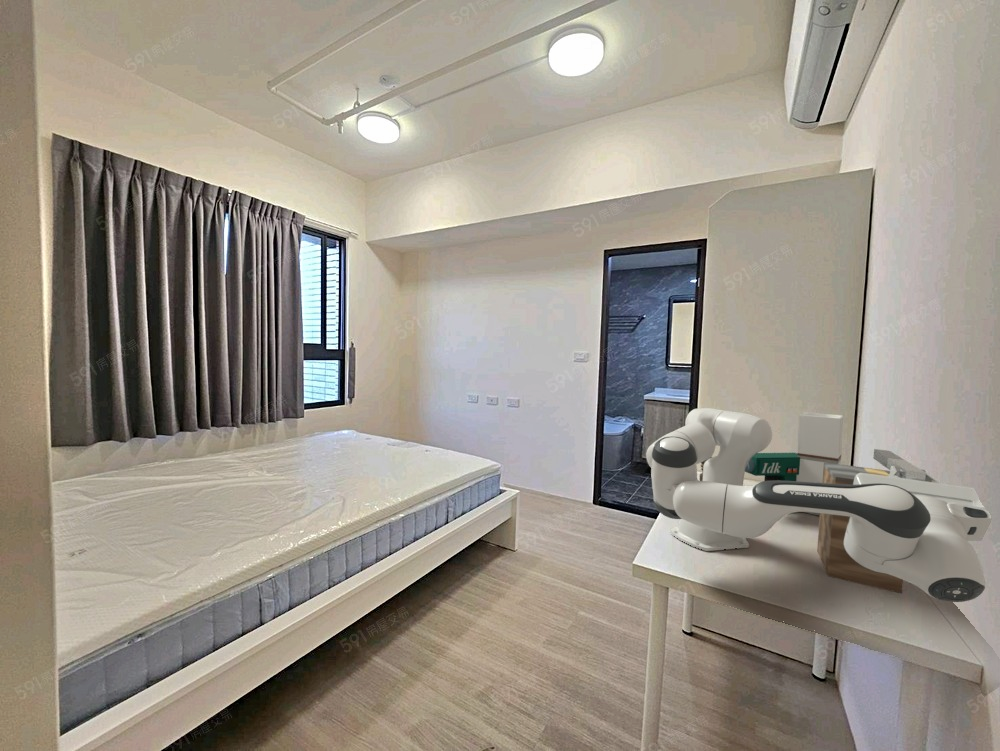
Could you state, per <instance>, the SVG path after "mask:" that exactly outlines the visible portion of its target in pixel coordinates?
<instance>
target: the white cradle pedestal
mask: <svg viewBox="0 0 1000 751" xmlns="http://www.w3.org/2000/svg"><path fill="white" fill-rule="evenodd" d="M843 425H844V415H842V414H828V413H816V412H803V414H799V415H798V432H797V453H798V454H797V457H800V468H799V475H797V478H796V481H799V482H814V483H822V481H823V468H824V463H832V464H840V465H842V450H843V449H842V448H843V447H842V446H843V445H842V444H843V427H844V426H843ZM804 513H806V514H811V515H815V516H819V517H820V513H812V512H804Z"/></svg>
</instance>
